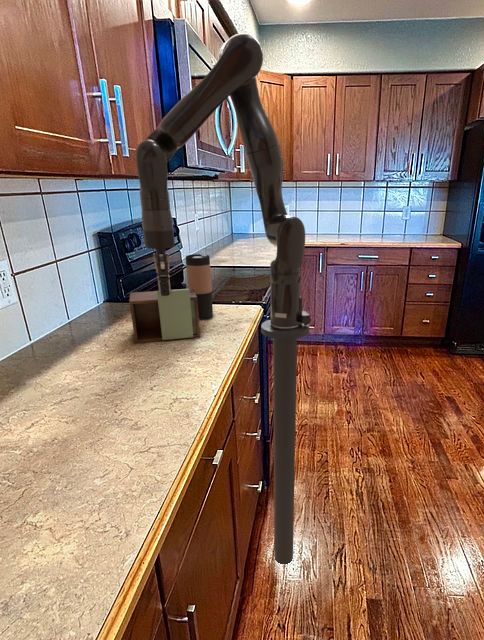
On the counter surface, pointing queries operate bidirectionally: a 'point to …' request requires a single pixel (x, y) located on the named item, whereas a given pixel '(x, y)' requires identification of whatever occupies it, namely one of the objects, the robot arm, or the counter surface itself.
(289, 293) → the robot arm
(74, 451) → the counter surface
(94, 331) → the counter surface
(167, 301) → the sliding door
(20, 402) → the counter surface
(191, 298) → the cabinet
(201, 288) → the travel mug
